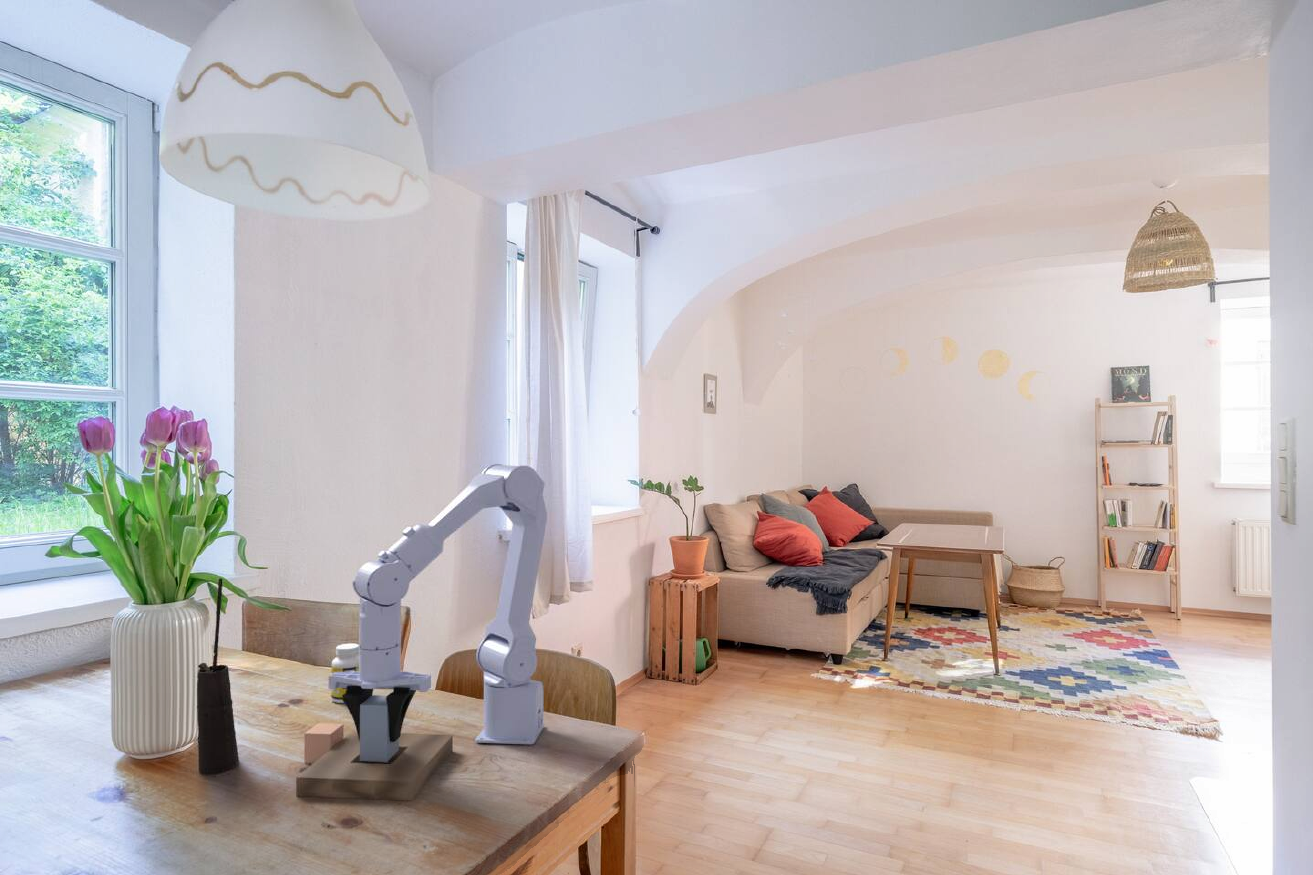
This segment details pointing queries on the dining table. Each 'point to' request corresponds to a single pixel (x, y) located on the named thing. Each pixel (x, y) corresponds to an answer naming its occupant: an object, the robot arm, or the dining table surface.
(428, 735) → the hole board
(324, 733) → the short pin
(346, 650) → the supplement bottle
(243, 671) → the dining table surface
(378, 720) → the tall pin
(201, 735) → the butter churn
